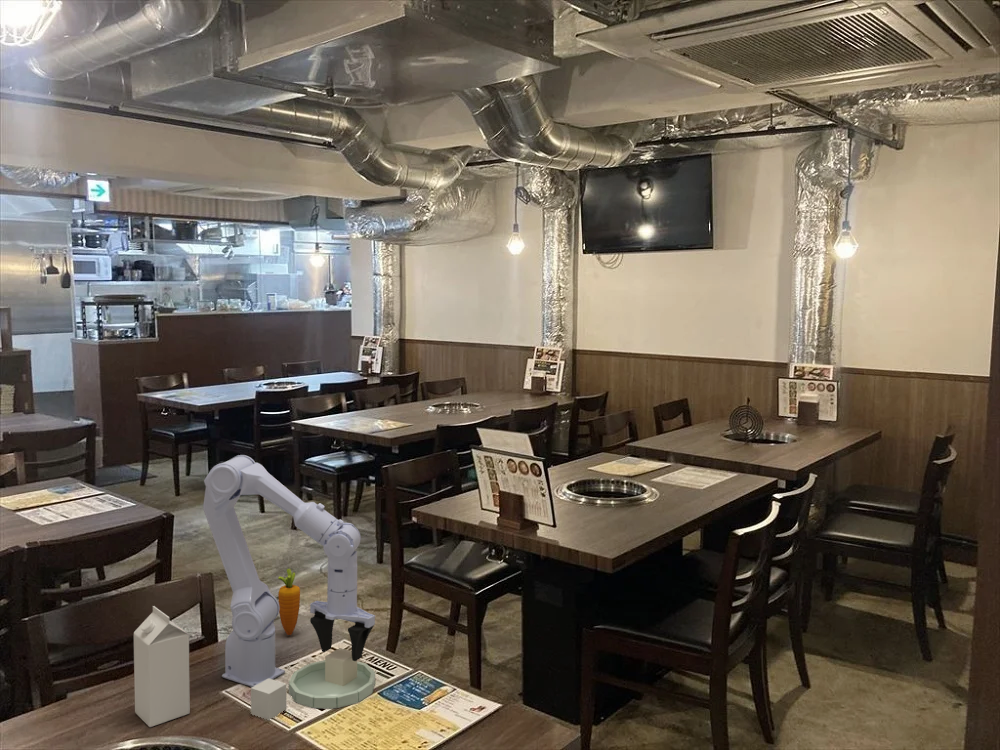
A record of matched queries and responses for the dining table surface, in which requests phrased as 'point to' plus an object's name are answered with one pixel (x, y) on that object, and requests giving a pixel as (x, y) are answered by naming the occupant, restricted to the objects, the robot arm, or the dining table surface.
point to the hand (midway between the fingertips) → (341, 654)
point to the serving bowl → (329, 687)
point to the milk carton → (161, 670)
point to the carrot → (289, 602)
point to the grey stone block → (268, 699)
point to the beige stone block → (340, 667)
